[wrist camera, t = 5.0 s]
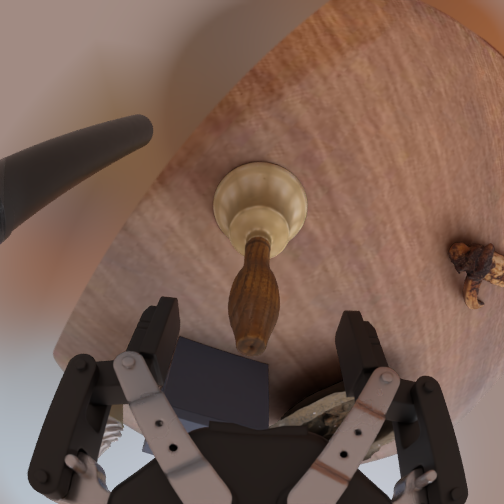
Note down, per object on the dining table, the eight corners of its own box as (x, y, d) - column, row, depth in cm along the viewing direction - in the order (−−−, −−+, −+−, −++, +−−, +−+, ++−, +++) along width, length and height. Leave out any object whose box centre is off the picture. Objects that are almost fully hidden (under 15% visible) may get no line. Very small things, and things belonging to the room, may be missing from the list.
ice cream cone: (140, 391, 42) (117, 469, 29) (113, 386, 42) (87, 460, 29) (132, 374, 40) (105, 458, 27) (104, 368, 40) (73, 447, 27)
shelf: (156, 393, 42) (141, 451, 33) (179, 336, 35) (159, 412, 25) (225, 414, 44) (220, 471, 35) (268, 364, 37) (268, 439, 27)
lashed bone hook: (418, 285, 30) (494, 311, 32) (433, 312, 26) (508, 332, 28) (459, 218, 26) (528, 261, 27) (481, 240, 22) (545, 281, 23)
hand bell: (229, 256, 29) (203, 404, 15) (201, 176, 25) (128, 290, 11) (314, 238, 27) (355, 382, 14) (296, 151, 23) (346, 244, 10)
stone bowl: (264, 436, 48) (263, 477, 40) (264, 347, 37) (262, 404, 29) (387, 425, 47) (397, 462, 38) (432, 335, 36) (457, 380, 28)
